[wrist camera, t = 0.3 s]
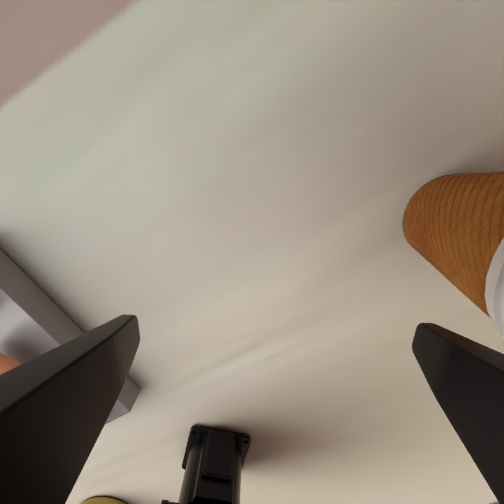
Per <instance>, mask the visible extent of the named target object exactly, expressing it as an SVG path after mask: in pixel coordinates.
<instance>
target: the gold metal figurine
mask: <svg viewBox="0 0 504 504" xmlns="http://www.w3.org/2000/svg"><path fill="white" fill-rule="evenodd" d="M81 504H125V503H124V502H122V501H120V500H117V499H114V498H109V497H95V498H91V499H88V500H86V501H84V502H83V503H81Z"/></svg>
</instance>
